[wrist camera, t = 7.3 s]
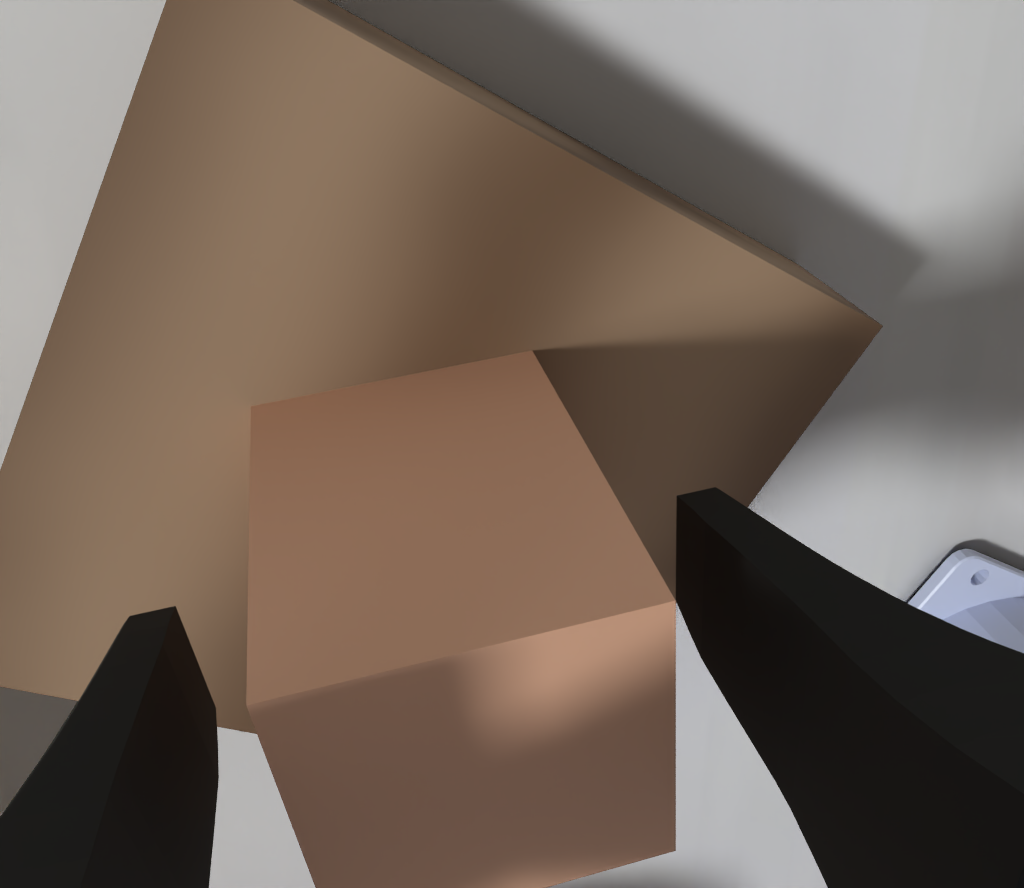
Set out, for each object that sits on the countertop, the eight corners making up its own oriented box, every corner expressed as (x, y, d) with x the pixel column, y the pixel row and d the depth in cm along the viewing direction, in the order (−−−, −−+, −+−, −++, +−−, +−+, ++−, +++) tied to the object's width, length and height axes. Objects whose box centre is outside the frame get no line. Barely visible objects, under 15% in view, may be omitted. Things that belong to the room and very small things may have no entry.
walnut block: (797, 264, 18) (882, 325, 16) (508, 685, 23) (539, 785, 20) (201, -71, 13) (186, -59, 11) (-25, 559, 17) (-72, 673, 15)
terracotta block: (532, 350, 14) (675, 600, 9) (552, 562, 17) (676, 850, 12) (250, 406, 14) (246, 705, 9) (313, 618, 16) (338, 947, 11)
